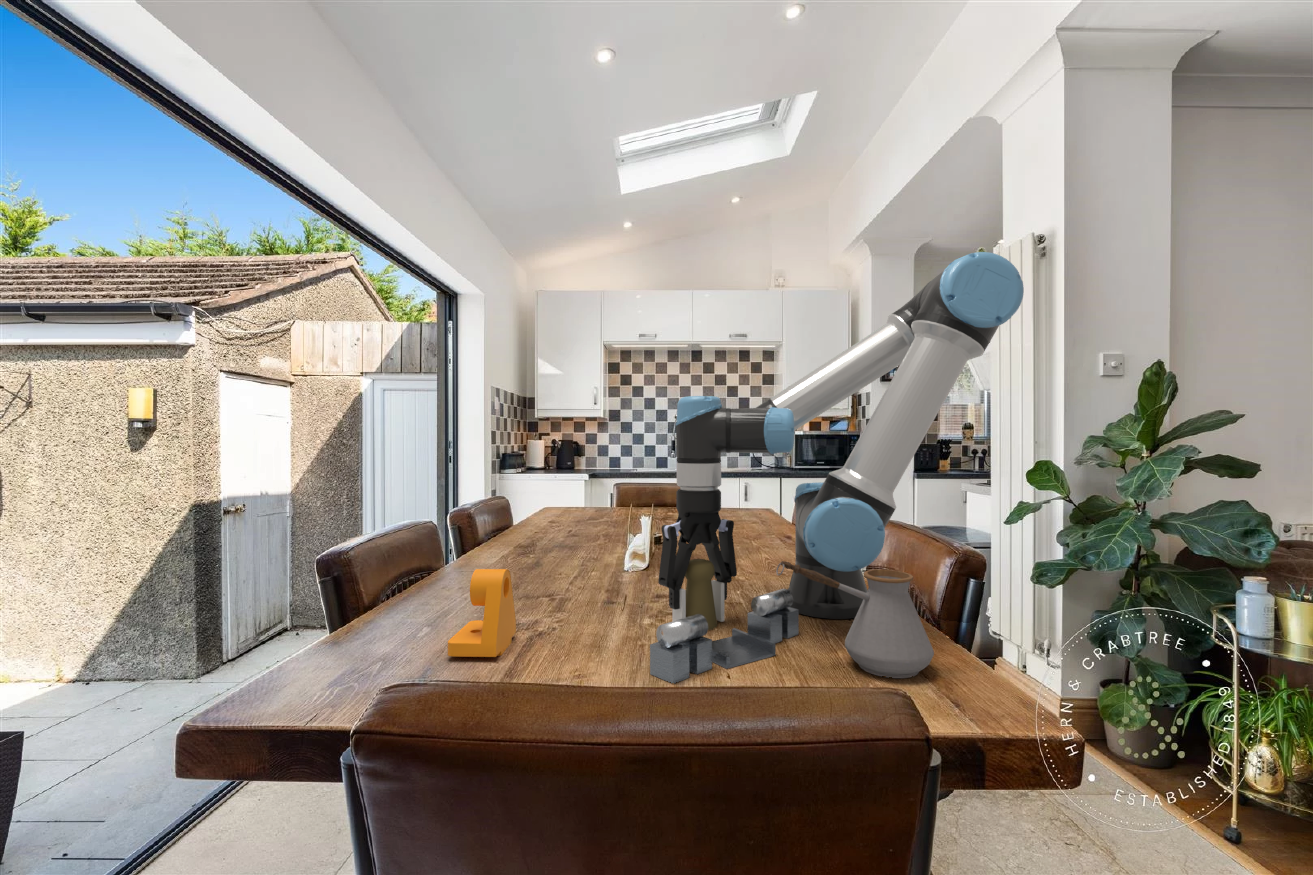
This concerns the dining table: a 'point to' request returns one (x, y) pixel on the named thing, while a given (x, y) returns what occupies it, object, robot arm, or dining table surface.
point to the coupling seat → (740, 649)
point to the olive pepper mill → (700, 591)
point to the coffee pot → (882, 624)
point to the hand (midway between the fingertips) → (698, 623)
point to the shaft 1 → (681, 649)
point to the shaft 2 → (773, 616)
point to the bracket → (487, 617)
